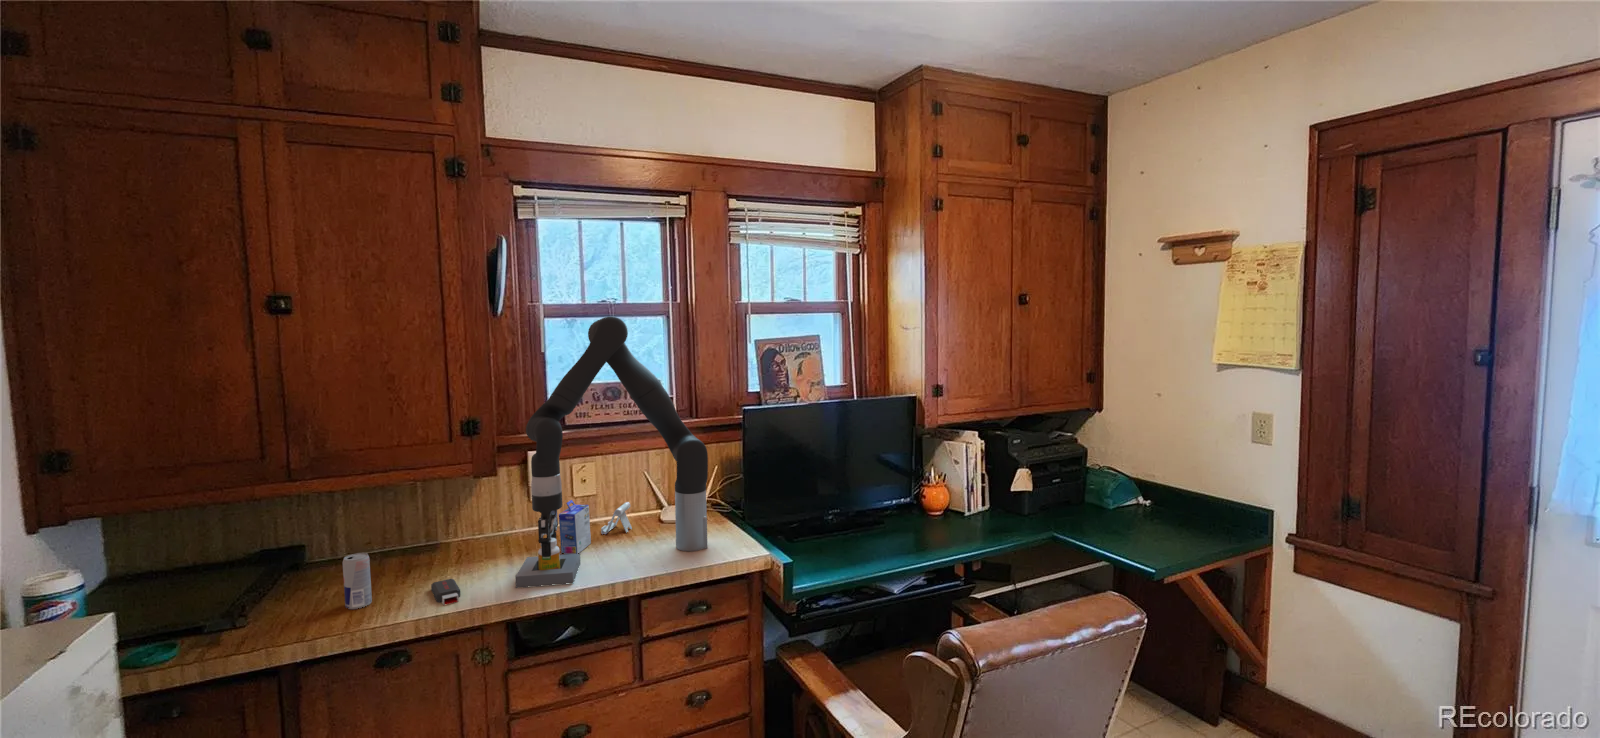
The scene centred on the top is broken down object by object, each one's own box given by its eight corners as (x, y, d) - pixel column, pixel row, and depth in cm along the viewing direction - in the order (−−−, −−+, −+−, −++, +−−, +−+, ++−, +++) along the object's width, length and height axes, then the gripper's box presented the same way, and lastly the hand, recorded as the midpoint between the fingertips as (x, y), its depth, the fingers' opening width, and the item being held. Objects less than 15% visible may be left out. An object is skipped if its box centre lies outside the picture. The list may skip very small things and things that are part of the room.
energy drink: (353, 600, 162) (350, 553, 161) (376, 599, 163) (373, 552, 162) (340, 610, 157) (337, 561, 156) (364, 609, 157) (361, 560, 156)
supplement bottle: (540, 580, 174) (538, 544, 173) (537, 573, 179) (536, 538, 178) (561, 577, 176) (560, 541, 175) (559, 570, 181) (557, 535, 180)
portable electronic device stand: (611, 526, 219) (610, 501, 218) (634, 526, 218) (633, 502, 218) (601, 534, 211) (600, 509, 210) (624, 535, 210) (624, 509, 209)
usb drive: (454, 586, 172) (453, 576, 171) (463, 602, 162) (462, 591, 162) (431, 591, 168) (430, 580, 168) (439, 607, 159) (438, 596, 159)
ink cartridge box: (574, 543, 203) (572, 496, 202) (591, 543, 202) (590, 497, 201) (559, 554, 193) (557, 505, 192) (577, 555, 192) (576, 506, 191)
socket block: (580, 563, 185) (580, 553, 185) (573, 583, 172) (572, 572, 172) (527, 567, 183) (527, 557, 183) (515, 588, 169) (515, 576, 169)
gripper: (557, 497, 169) (559, 559, 170) (565, 483, 183) (568, 540, 184) (526, 499, 168) (529, 561, 169) (537, 485, 182) (539, 543, 183)
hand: (549, 550), depth 177 cm, fingers open, 8 cm apart
